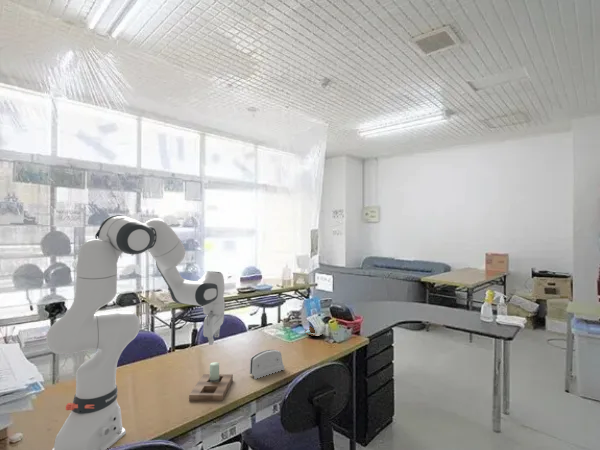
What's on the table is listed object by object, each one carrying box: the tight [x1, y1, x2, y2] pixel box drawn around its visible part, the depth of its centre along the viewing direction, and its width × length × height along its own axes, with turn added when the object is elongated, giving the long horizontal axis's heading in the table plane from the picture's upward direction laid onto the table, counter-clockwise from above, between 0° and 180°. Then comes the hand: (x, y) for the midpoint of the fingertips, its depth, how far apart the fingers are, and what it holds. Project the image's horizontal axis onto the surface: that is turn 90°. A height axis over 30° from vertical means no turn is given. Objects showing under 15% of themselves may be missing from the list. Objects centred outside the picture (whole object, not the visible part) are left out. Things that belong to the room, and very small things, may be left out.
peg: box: [209, 361, 220, 382], centre depth 143 cm, size 4×4×9 cm
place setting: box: [305, 325, 315, 337], centre depth 215 cm, size 18×20×6 cm
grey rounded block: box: [248, 349, 285, 380], centre depth 156 cm, size 17×5×10 cm, turn 127°
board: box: [188, 373, 234, 402], centre depth 139 cm, size 18×13×2 cm
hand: (214, 340), depth 144 cm, fingers open, 8 cm apart
